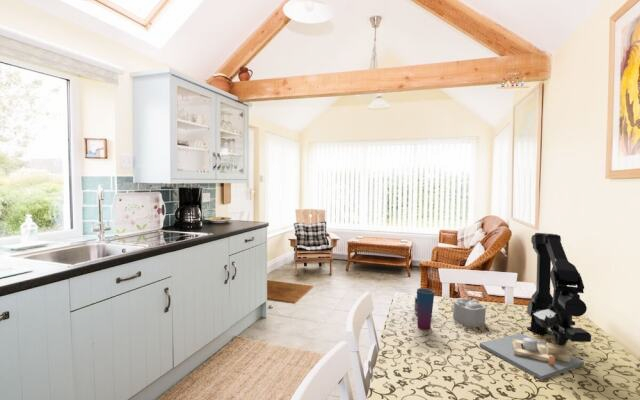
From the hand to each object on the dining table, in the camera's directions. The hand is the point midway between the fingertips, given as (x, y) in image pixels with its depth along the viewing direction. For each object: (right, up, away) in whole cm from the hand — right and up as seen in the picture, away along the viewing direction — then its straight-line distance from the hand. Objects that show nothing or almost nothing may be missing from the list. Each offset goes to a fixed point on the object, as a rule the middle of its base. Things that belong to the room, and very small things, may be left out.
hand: (559, 348), depth 114 cm
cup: (-40, -1, +21) cm, 45 cm away
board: (-10, -3, +1) cm, 10 cm away
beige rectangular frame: (-7, -2, 0) cm, 7 cm away
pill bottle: (-36, 0, +36) cm, 51 cm away
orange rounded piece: (-8, -2, -7) cm, 11 cm away
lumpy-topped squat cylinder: (-18, -1, +30) cm, 35 cm away
